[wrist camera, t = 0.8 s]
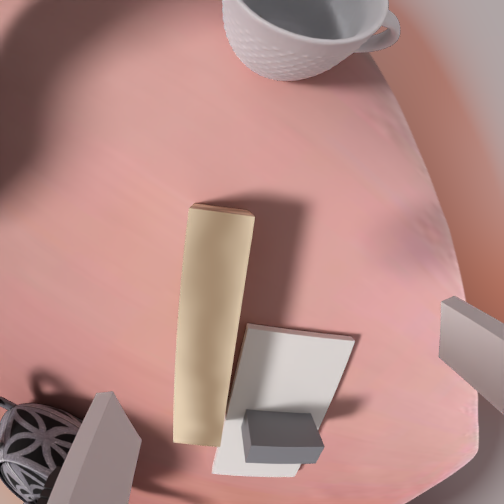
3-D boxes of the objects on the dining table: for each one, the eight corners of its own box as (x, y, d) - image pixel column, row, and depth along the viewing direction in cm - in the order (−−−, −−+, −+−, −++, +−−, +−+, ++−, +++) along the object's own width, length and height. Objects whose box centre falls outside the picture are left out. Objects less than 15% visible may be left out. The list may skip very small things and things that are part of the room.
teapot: (102, 504, 38) (88, 565, 23) (-23, 383, 30) (-71, 437, 16) (182, 487, 37) (179, 565, 23) (36, 340, 30) (-30, 412, 15)
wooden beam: (177, 408, 34) (173, 442, 28) (195, 203, 29) (189, 208, 23) (218, 412, 34) (220, 446, 29) (247, 210, 30) (255, 216, 24)
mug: (358, 18, 26) (418, -39, 13) (367, 106, 28) (445, 73, 16) (221, 4, 24) (225, -78, 12) (219, 96, 27) (220, 37, 14)
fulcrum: (212, 467, 36) (213, 506, 29) (246, 323, 32) (254, 359, 25) (292, 471, 38) (302, 506, 31) (351, 336, 34) (378, 369, 27)
